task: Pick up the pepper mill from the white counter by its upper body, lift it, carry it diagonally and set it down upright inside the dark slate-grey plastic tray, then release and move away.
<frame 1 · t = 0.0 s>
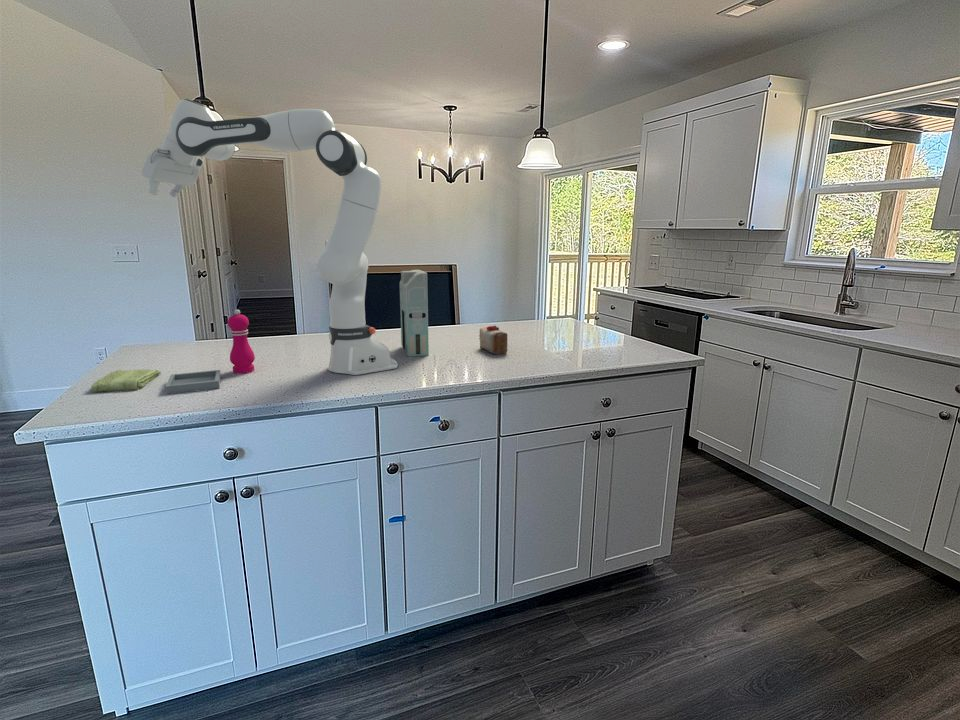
hand: (163, 195, 153), 54 cm above the countertop, tool tilted 30°, fingers open, 8 cm apart
food item: (493, 351, 190), on the countertop
device: (414, 351, 188), on the countertop
slate tray: (195, 384, 145), on the countertop
pepper mill: (244, 371, 159), on the countertop
washcloth: (127, 385, 146), on the countertop
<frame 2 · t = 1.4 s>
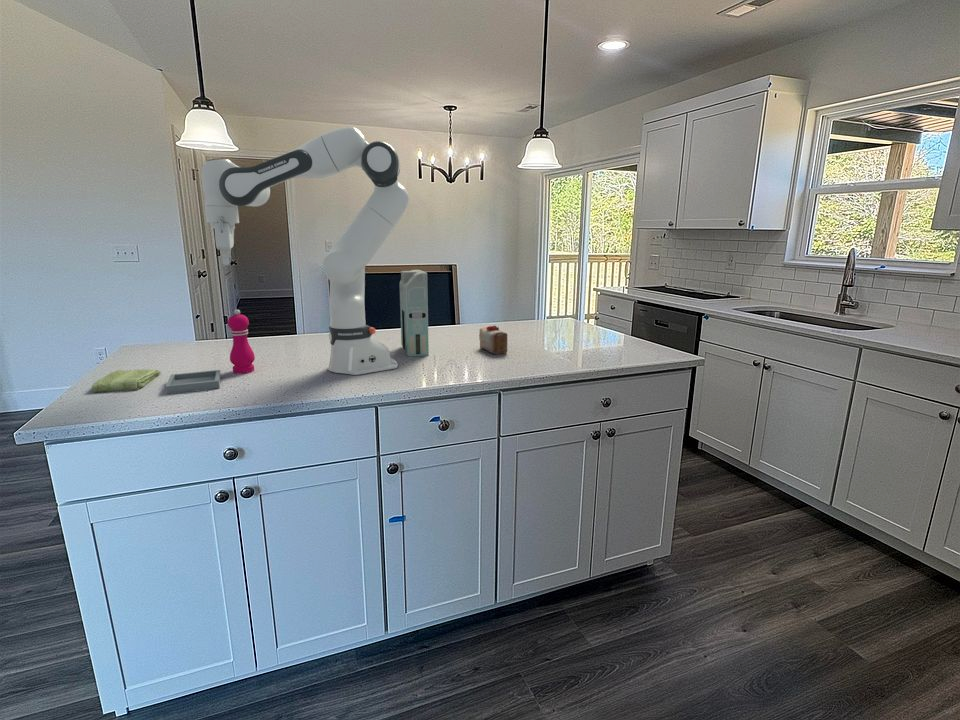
hand: (227, 263, 151), 34 cm above the countertop, tool pointing down, fingers open, 8 cm apart
nothing on the countertop moved.
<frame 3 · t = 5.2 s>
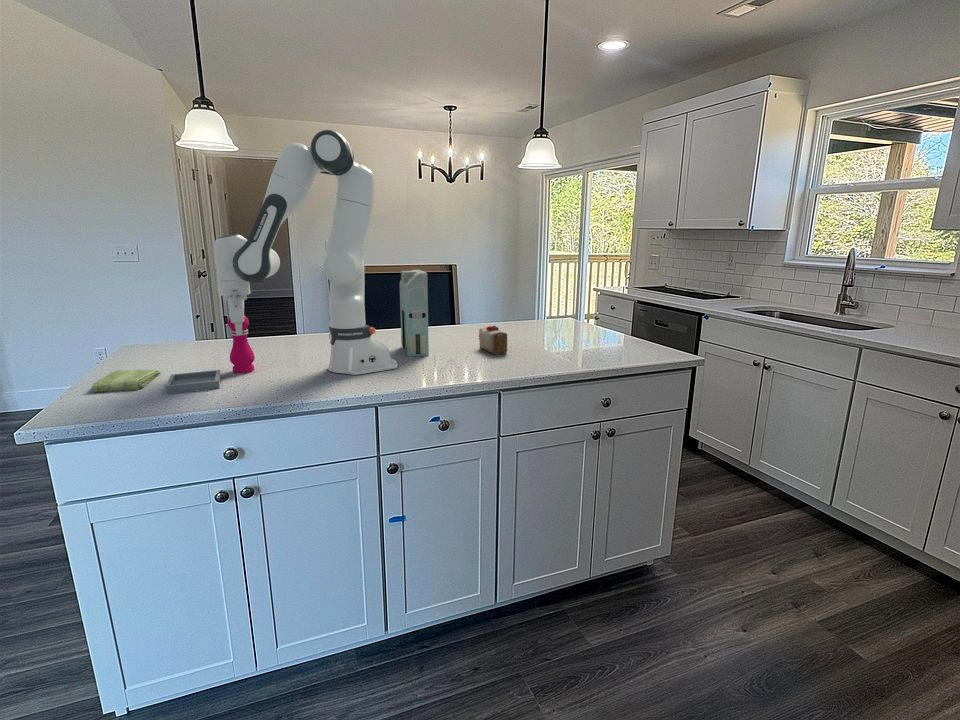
hand: (239, 332, 156), 13 cm above the countertop, tool pointing down, fingers closed on pepper mill, 5 cm apart
pepper mill: (243, 371, 159), on the countertop, touching gripper
everything else where it was.
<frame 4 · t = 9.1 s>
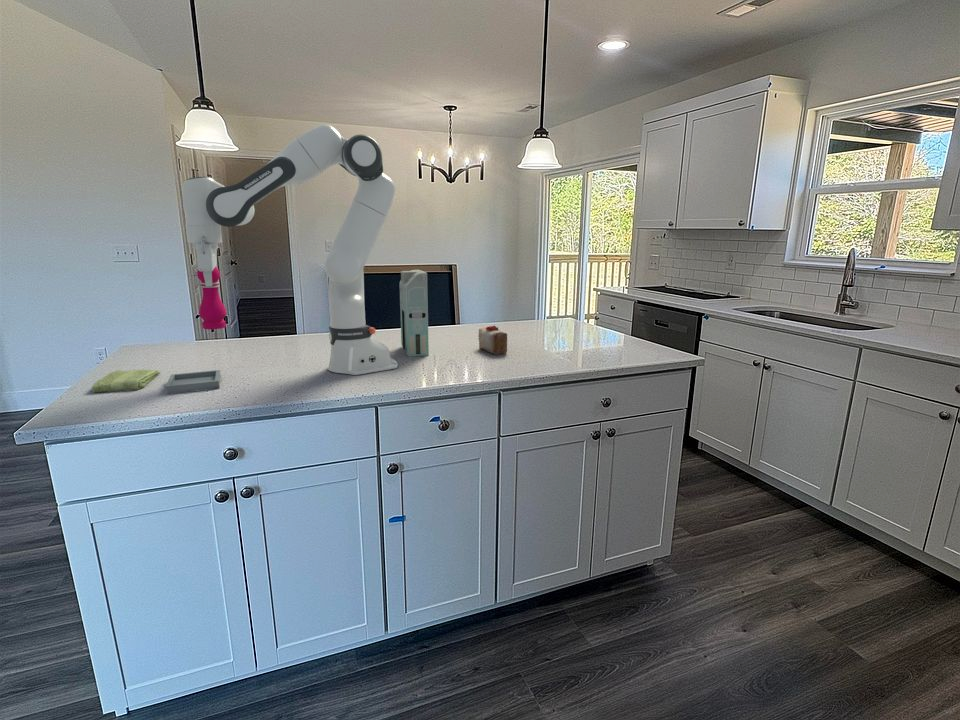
hand: (209, 285, 145), 28 cm above the countertop, tool pointing down, fingers closed on pepper mill, 5 cm apart
pepper mill: (214, 328, 149), point 15 cm above the countertop, touching gripper
everything else where it was.
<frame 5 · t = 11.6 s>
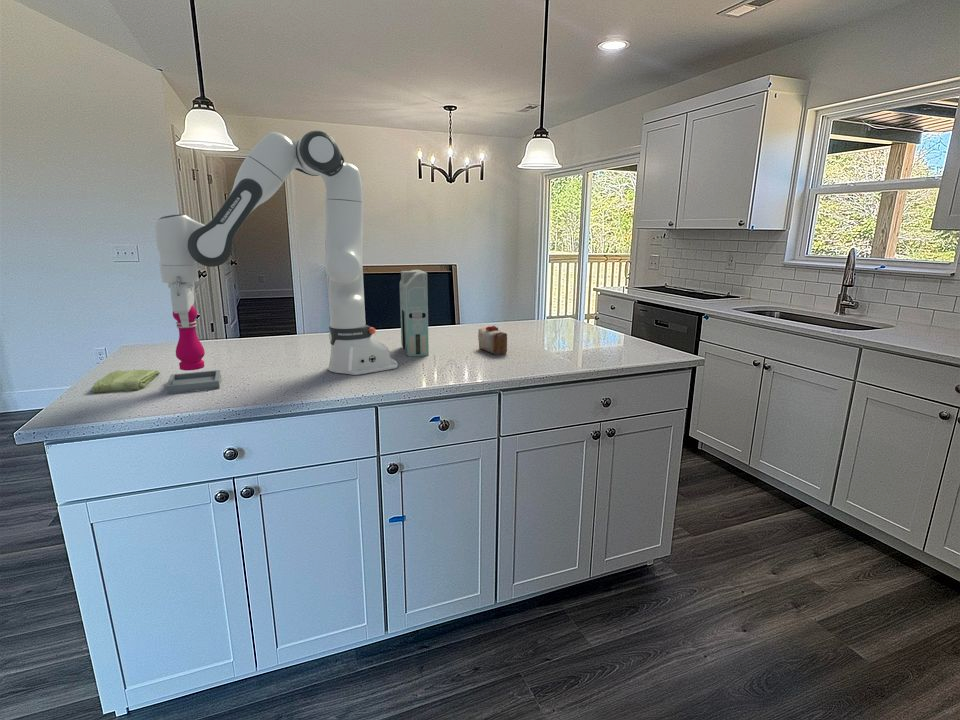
hand: (186, 324, 140), 18 cm above the countertop, tool pointing down, fingers closed on pepper mill, 5 cm apart
pepper mill: (192, 368, 143), point 5 cm above the countertop, touching gripper
everything else where it was.
when the fingers open (14 cm above the countertop, at t = 13.2 s): pepper mill stays where it is, resting on slate tray.
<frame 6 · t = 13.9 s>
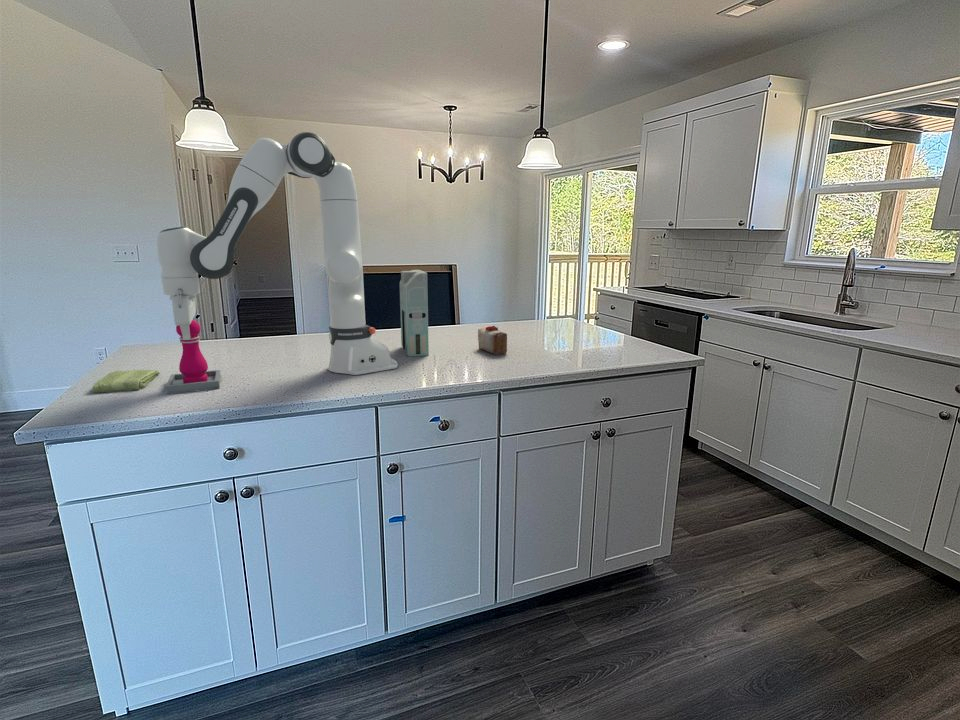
hand: (188, 336, 141), 15 cm above the countertop, tool pointing down, fingers open, 8 cm apart
pepper mill: (195, 382, 145), point 1 cm above the countertop, touching slate tray
everything else where it was.
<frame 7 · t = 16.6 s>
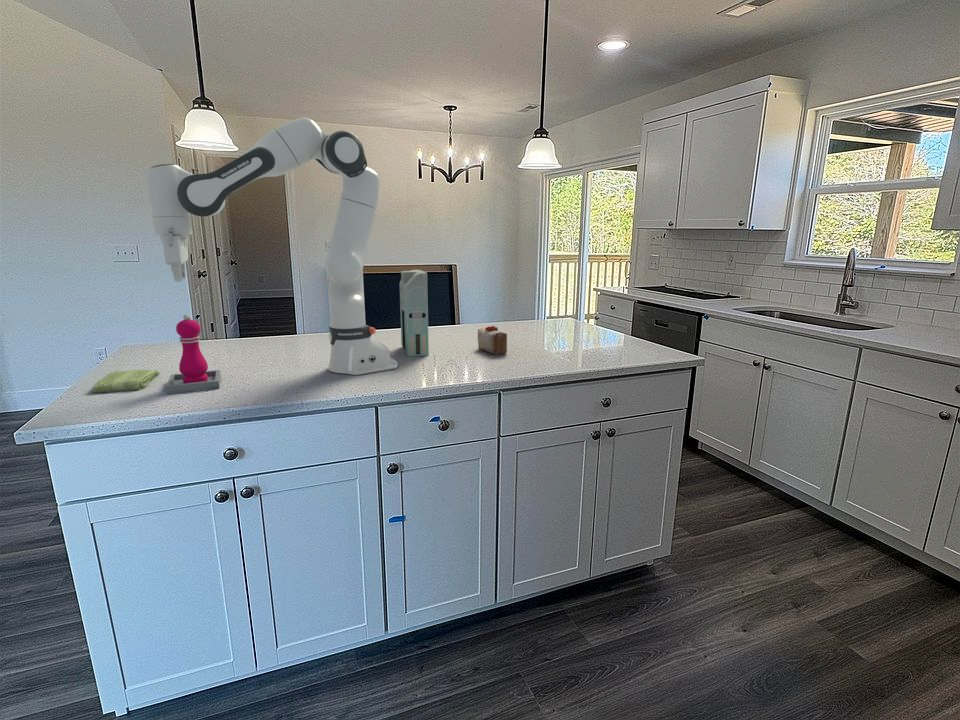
hand: (180, 279, 137), 30 cm above the countertop, tool pointing down, fingers open, 8 cm apart
nothing on the countertop moved.
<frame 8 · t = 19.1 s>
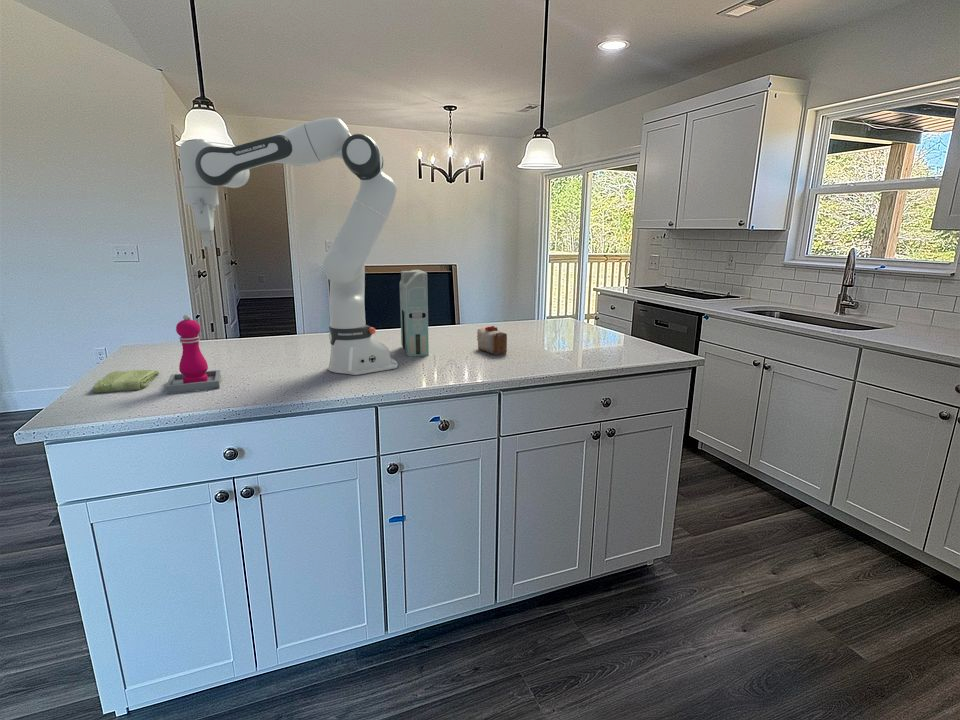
hand: (207, 246, 150), 39 cm above the countertop, tool pointing down, fingers open, 8 cm apart
at the end: pepper mill inside the target area on the slate tray (0.2 cm from its centre), point 0.6 cm above the slate tray's base; pepper mill tilted 0°; the gripper is holding nothing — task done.
